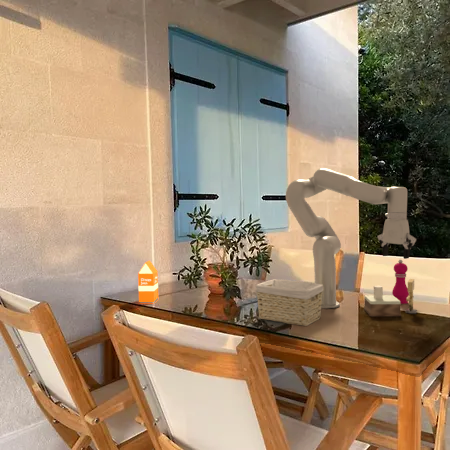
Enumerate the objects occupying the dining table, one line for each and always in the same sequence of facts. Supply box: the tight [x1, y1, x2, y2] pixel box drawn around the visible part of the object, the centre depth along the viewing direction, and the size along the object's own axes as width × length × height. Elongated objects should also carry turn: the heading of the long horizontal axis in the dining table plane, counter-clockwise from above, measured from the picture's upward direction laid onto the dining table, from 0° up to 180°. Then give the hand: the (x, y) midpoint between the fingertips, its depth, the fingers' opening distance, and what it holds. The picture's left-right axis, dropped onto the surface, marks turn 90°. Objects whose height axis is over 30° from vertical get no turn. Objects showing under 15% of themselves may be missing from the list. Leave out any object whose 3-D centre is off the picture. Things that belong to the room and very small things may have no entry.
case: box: [363, 298, 402, 317], centre depth 196 cm, size 12×12×5 cm
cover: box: [364, 285, 401, 305], centre depth 196 cm, size 12×12×6 cm
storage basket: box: [255, 278, 323, 327], centre depth 189 cm, size 24×16×15 cm
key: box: [407, 278, 415, 310], centre depth 194 cm, size 12×2×12 cm, turn 153°
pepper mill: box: [391, 259, 409, 305], centre depth 214 cm, size 7×7×20 cm
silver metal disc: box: [405, 308, 418, 315], centre depth 195 cm, size 4×4×1 cm
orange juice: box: [137, 260, 159, 303], centre depth 229 cm, size 8×9×20 cm
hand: (395, 257), depth 195 cm, fingers open, 9 cm apart
